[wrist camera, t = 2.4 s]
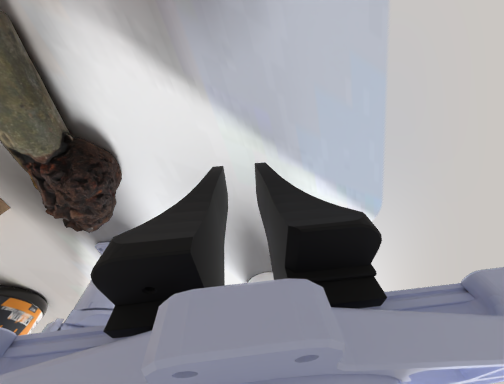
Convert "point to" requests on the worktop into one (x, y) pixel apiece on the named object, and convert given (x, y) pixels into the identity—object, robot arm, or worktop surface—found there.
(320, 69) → the worktop surface
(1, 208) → the light wooden open box
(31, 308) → the supplement container
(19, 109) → the metal pipe
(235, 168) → the worktop surface
